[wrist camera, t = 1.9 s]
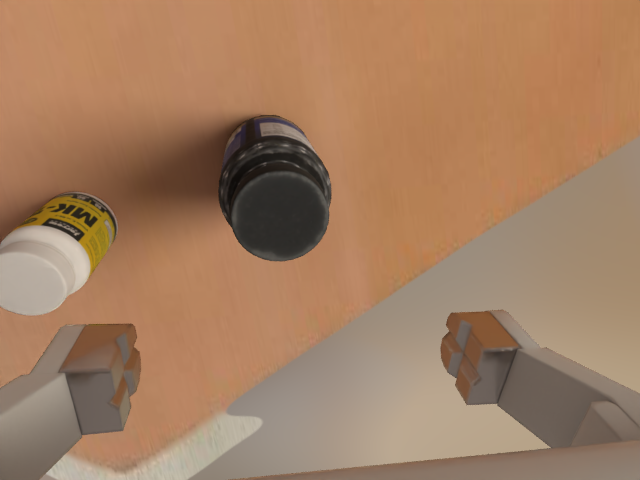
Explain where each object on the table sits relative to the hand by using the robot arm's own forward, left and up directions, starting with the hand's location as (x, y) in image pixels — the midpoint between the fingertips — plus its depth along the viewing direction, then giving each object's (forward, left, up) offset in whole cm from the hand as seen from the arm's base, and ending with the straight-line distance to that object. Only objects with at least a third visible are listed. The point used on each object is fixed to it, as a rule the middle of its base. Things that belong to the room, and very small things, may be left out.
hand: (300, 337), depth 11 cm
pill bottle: (0, -1, -20) cm, 20 cm away
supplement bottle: (-13, -6, -20) cm, 25 cm away
